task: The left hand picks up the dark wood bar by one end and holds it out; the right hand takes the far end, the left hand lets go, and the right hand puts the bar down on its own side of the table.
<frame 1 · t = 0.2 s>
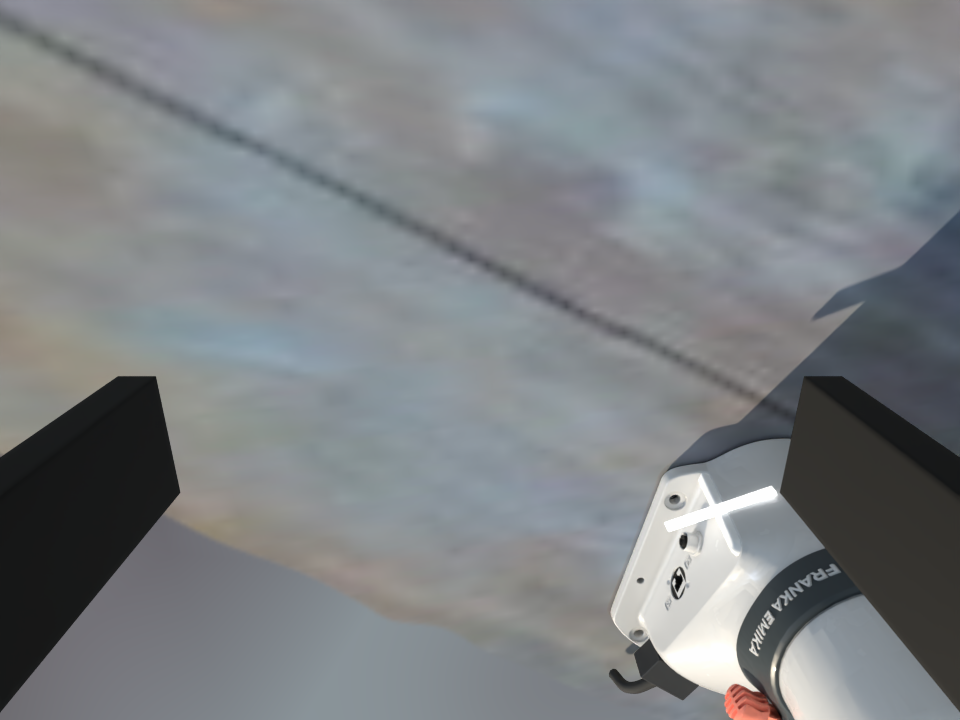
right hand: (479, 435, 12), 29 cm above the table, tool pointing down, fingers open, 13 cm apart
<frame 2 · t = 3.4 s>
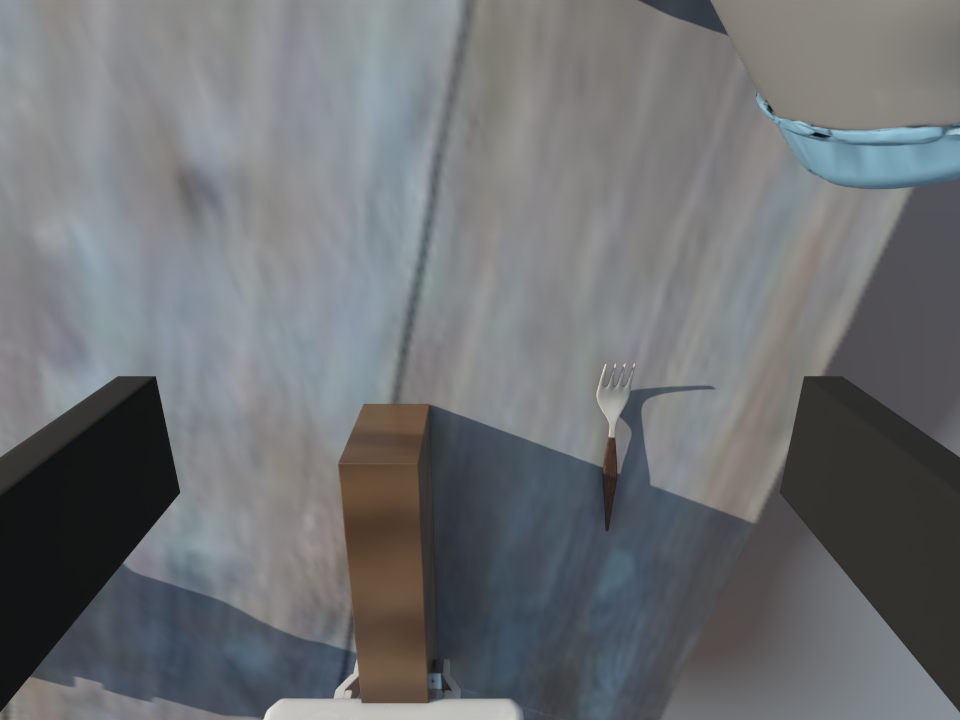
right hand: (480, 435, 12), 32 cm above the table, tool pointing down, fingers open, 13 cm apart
bar: (404, 547, 53), on the table, touching left hand
fork: (609, 444, 49), on the table
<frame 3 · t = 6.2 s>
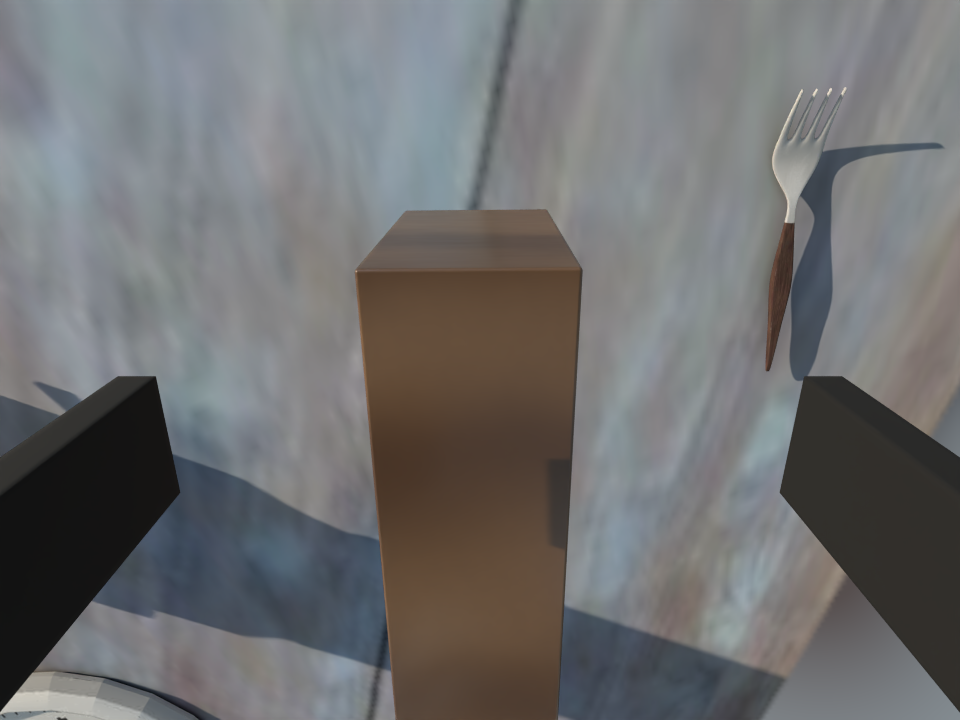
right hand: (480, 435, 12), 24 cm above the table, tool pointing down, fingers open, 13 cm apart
bar: (480, 519, 28), point 12 cm above the table, touching left hand
fork: (781, 240, 35), on the table
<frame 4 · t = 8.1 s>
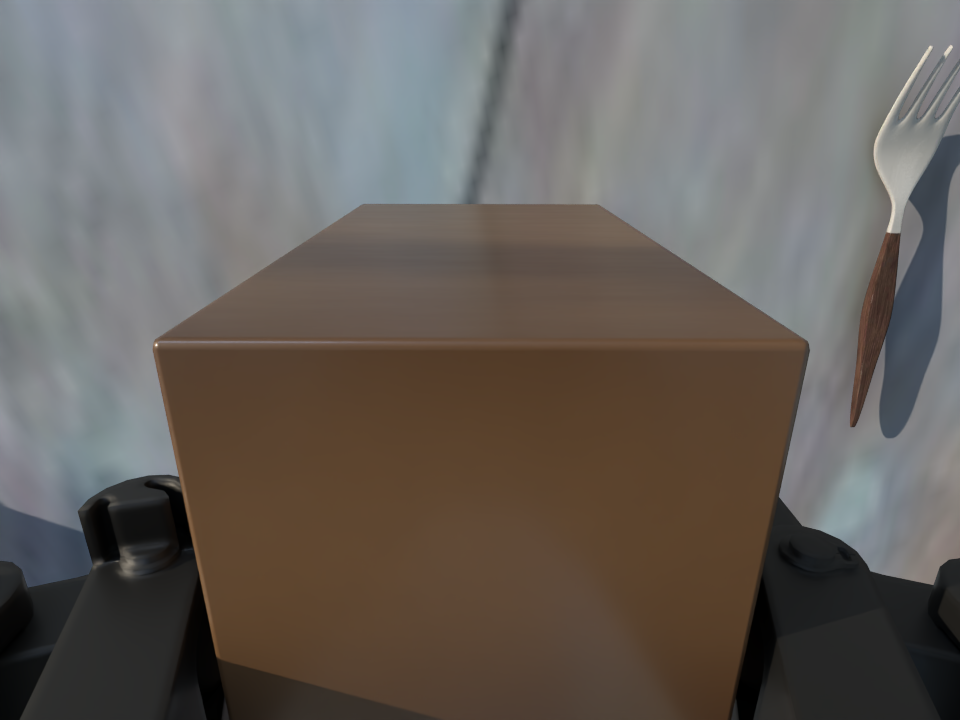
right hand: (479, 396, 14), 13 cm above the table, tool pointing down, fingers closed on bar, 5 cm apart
bar: (479, 674, 18), point 12 cm above the table, touching right hand, left hand
fork: (877, 256, 26), on the table
when the left hand's fingers open (16 cm above the table, at t = 8.9 s): bar stays where it is, held by the right hand.
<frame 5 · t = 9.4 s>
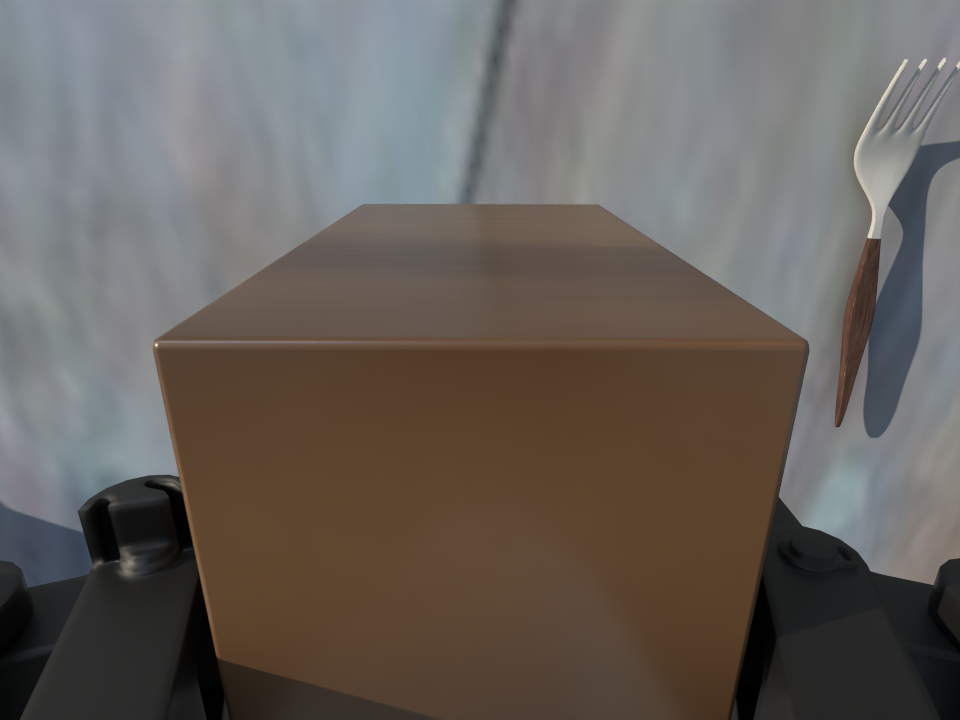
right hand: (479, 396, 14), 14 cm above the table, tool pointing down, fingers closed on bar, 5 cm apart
bar: (479, 674, 18), point 13 cm above the table, touching right hand
fork: (859, 260, 27), on the table
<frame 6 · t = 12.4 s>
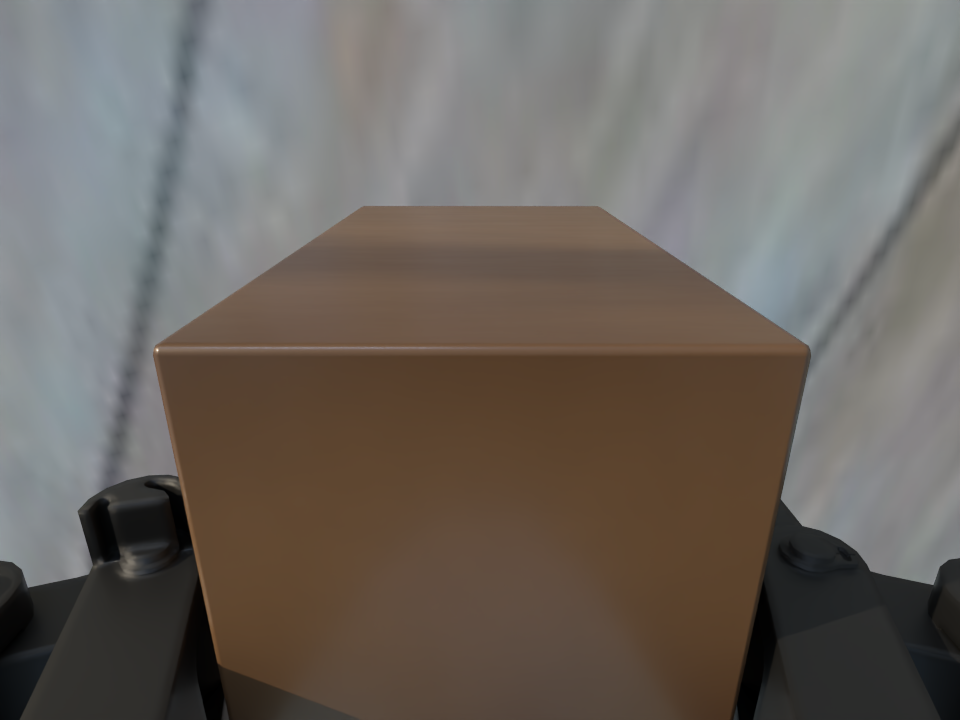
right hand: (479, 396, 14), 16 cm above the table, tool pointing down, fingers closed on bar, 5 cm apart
bar: (480, 676, 18), point 15 cm above the table, touching right hand
when the right hand's fingers open (2 cm above the table, at t = 17.0 s): bar drops 1 cm, on the table.
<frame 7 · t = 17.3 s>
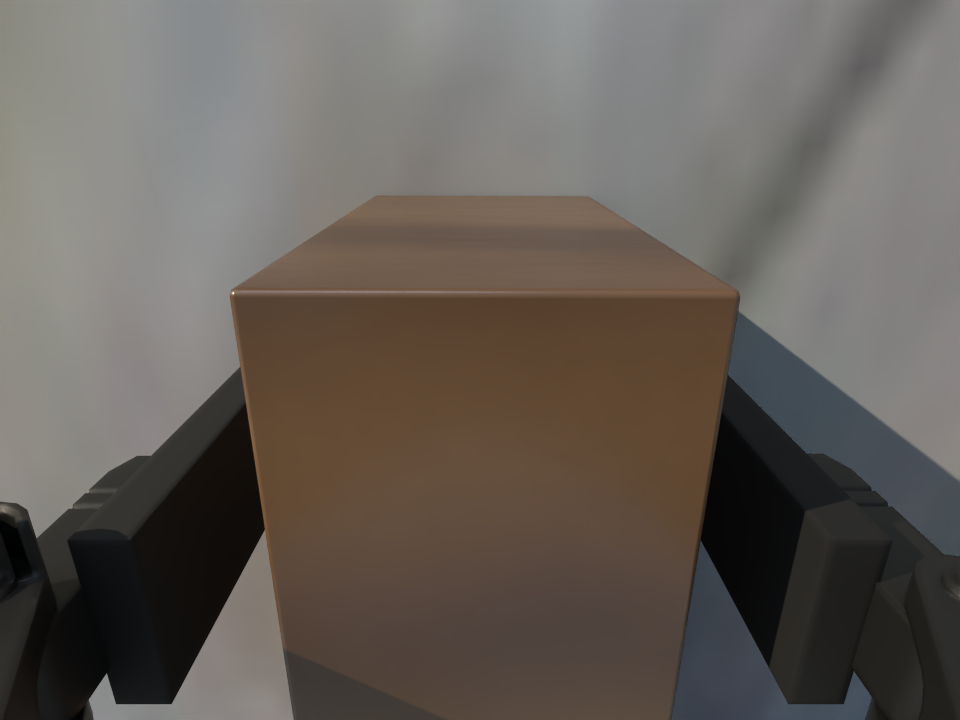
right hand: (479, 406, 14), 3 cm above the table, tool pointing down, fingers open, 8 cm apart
bar: (480, 635, 20), on the table
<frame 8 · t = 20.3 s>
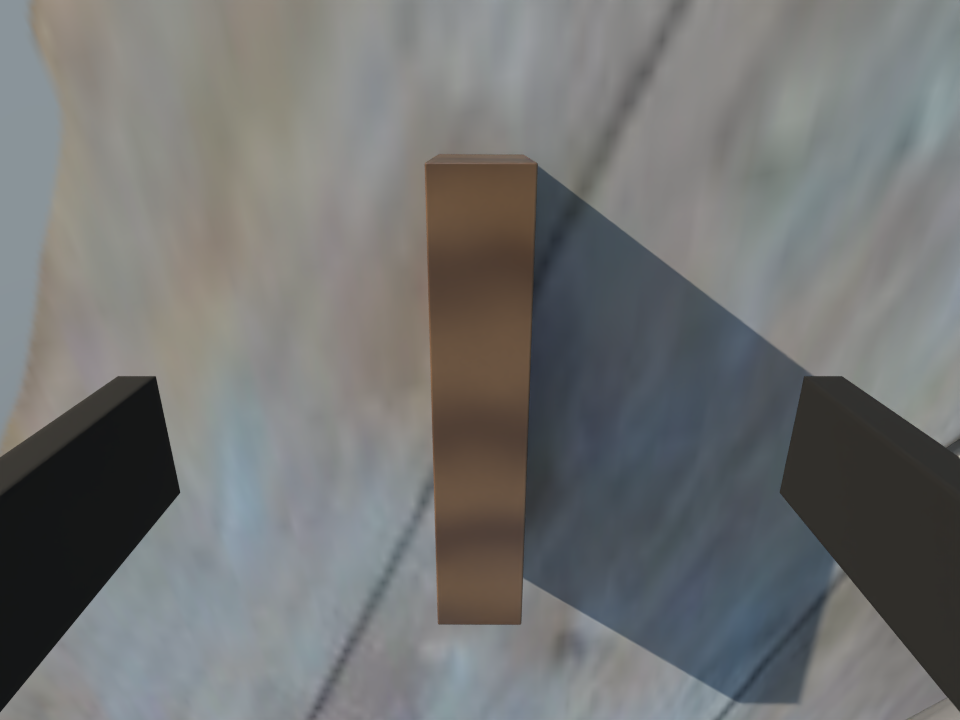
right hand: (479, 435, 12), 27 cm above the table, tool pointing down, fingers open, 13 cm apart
bar: (480, 367, 42), on the table
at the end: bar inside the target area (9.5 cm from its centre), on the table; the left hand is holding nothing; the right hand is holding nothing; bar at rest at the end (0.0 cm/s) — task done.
